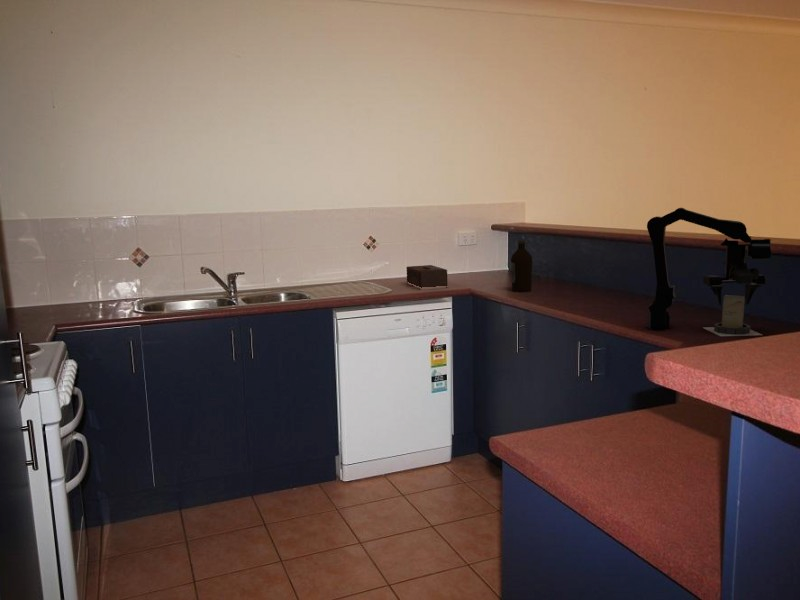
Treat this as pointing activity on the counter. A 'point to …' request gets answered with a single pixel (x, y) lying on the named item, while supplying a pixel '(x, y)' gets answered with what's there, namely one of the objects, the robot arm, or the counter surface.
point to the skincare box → (733, 311)
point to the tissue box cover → (427, 276)
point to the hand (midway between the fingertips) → (733, 304)
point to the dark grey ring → (732, 329)
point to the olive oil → (521, 269)
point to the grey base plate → (731, 334)
